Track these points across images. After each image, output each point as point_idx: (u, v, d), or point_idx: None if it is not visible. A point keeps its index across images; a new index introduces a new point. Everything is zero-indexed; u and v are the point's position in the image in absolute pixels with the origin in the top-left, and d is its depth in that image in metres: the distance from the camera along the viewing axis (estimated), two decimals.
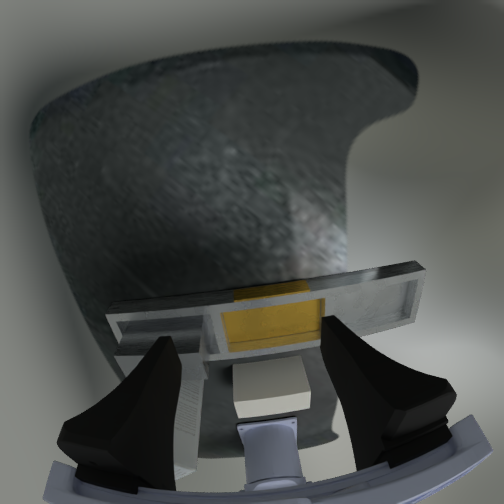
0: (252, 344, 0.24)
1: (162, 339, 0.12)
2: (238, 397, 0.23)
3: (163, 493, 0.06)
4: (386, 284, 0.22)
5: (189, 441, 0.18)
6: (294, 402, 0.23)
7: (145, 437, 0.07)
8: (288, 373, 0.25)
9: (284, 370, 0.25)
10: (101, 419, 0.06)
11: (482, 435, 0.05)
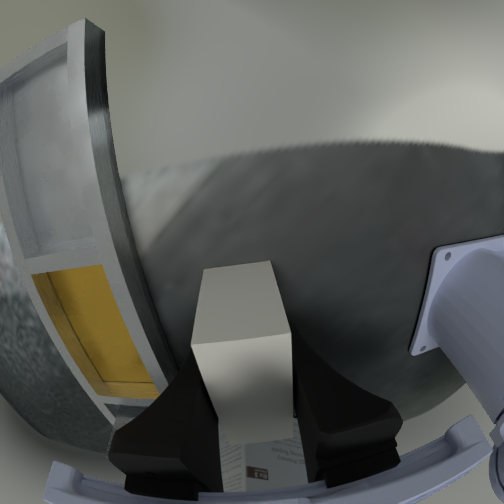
0: None
1: None
2: None
3: None
4: None
5: None
6: (246, 371, 0.08)
7: (202, 439, 0.07)
8: None
9: None
10: (160, 424, 0.06)
11: (482, 435, 0.05)
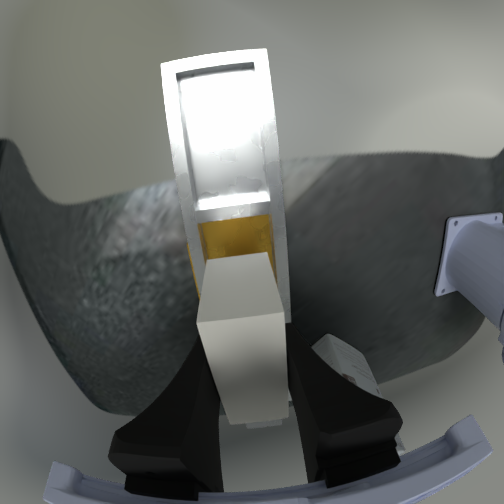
0: None
1: None
2: None
3: None
4: (179, 130, 0.14)
5: None
6: (245, 348, 0.10)
7: (202, 439, 0.07)
8: None
9: None
10: (160, 423, 0.06)
11: (482, 435, 0.05)
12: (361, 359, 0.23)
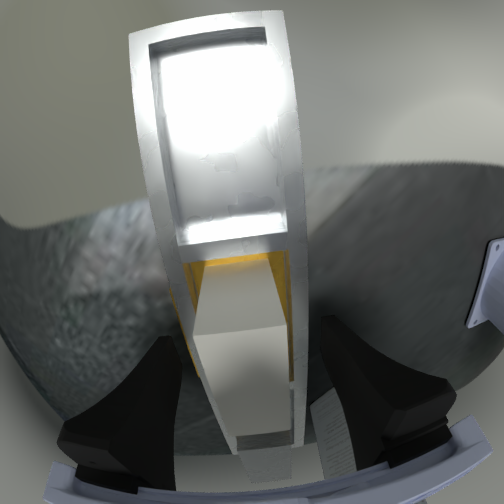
0: (291, 348, 0.15)
1: (163, 339, 0.12)
2: None
3: (163, 493, 0.06)
4: (152, 127, 0.09)
5: None
6: (244, 362, 0.09)
7: (145, 437, 0.07)
8: None
9: None
10: (101, 418, 0.06)
11: (481, 435, 0.05)
12: None
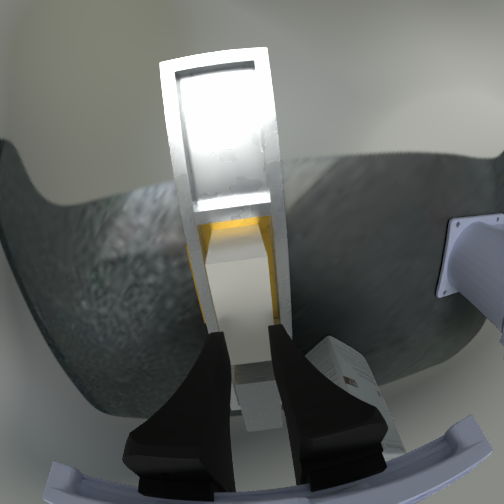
0: (277, 298, 0.19)
1: (216, 335, 0.12)
2: None
3: None
4: (178, 130, 0.14)
5: None
6: (239, 286, 0.14)
7: (217, 438, 0.07)
8: None
9: None
10: (175, 424, 0.06)
11: (481, 435, 0.05)
12: (362, 361, 0.23)
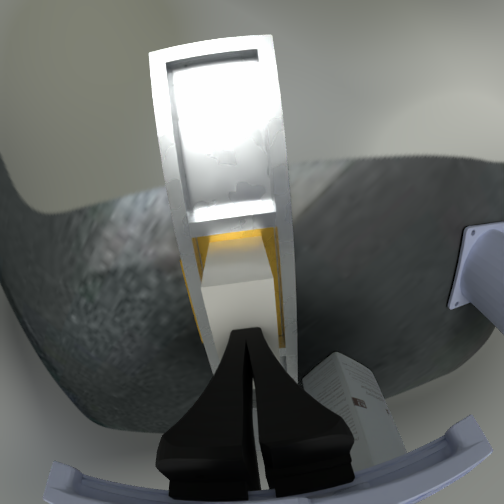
0: (282, 316, 0.18)
1: (239, 332, 0.12)
2: None
3: (163, 493, 0.06)
4: (169, 129, 0.12)
5: (356, 451, 0.13)
6: (241, 311, 0.12)
7: (249, 436, 0.07)
8: None
9: None
10: (210, 423, 0.06)
11: (481, 435, 0.05)
12: (370, 377, 0.21)
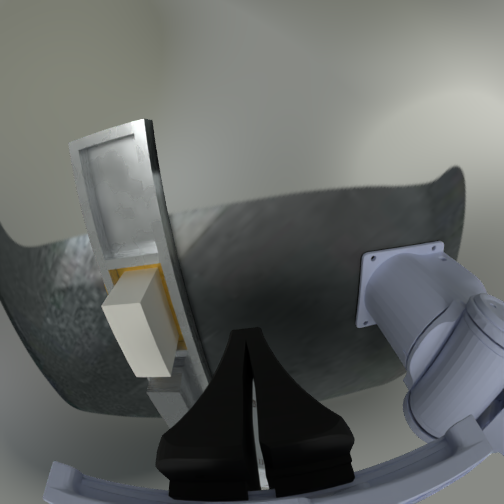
0: None
1: (239, 332, 0.12)
2: None
3: (163, 493, 0.06)
4: (86, 199, 0.17)
5: None
6: (127, 322, 0.17)
7: (249, 436, 0.07)
8: None
9: None
10: (210, 423, 0.06)
11: (481, 435, 0.05)
12: None
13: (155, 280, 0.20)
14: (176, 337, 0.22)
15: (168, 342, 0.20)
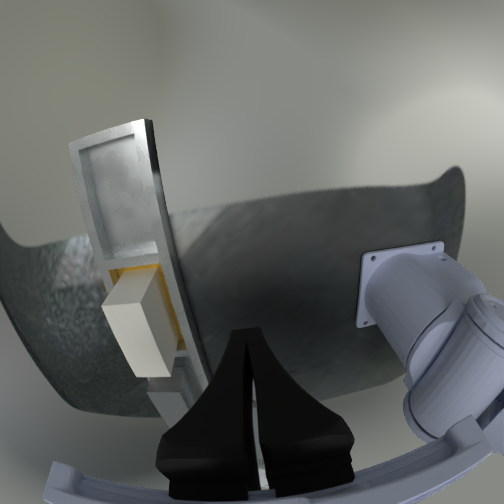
0: None
1: (239, 332, 0.12)
2: None
3: (163, 493, 0.06)
4: (86, 199, 0.17)
5: None
6: (127, 322, 0.17)
7: (249, 436, 0.07)
8: None
9: None
10: (210, 423, 0.06)
11: (481, 435, 0.05)
12: None
13: (155, 280, 0.20)
14: (176, 337, 0.22)
15: (168, 342, 0.20)
